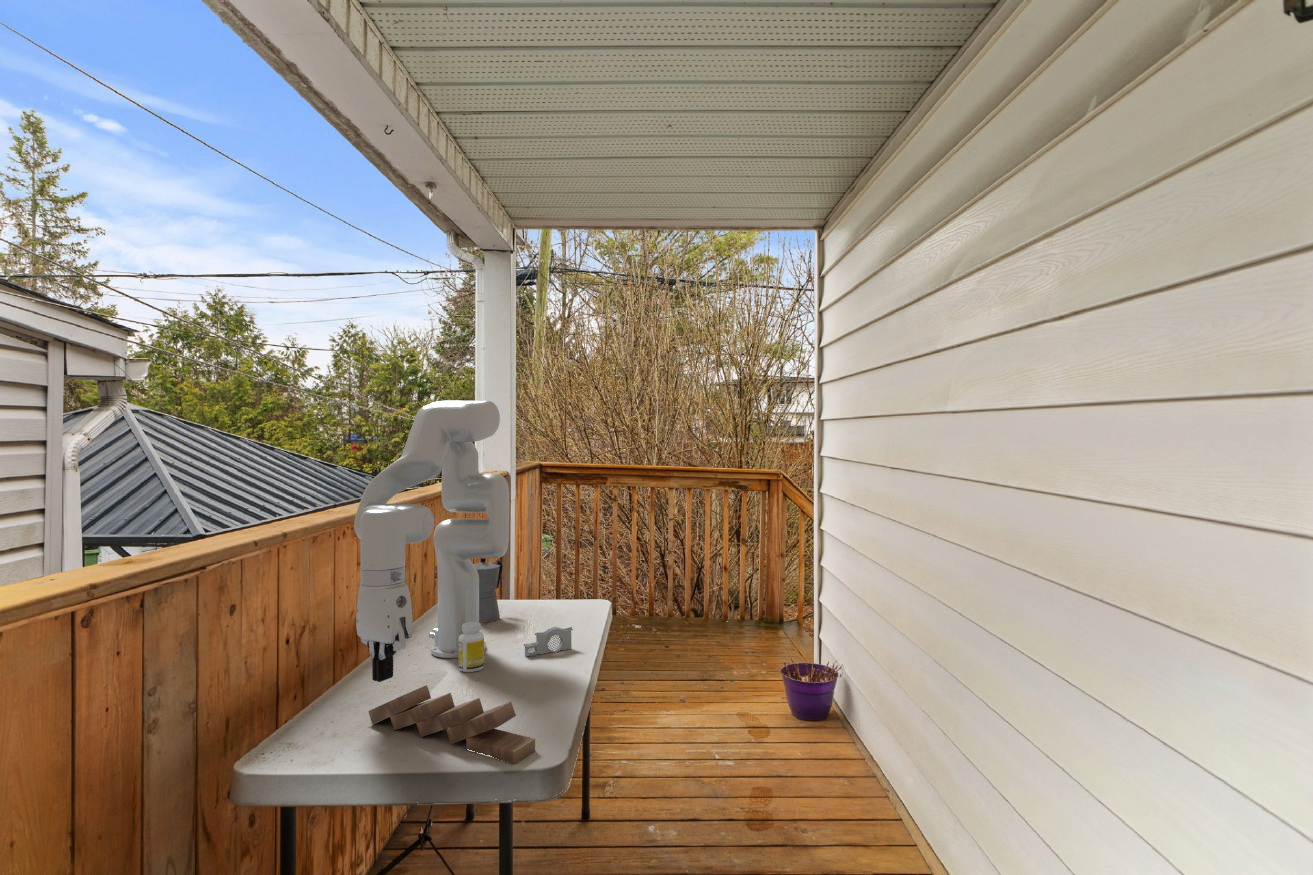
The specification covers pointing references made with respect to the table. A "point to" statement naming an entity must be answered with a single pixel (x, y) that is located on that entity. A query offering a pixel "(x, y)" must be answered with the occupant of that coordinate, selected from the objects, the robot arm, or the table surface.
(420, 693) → the domino
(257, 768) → the table surface
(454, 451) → the robot arm
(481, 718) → the domino
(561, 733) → the table surface
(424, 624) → the table surface
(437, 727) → the domino
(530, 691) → the table surface
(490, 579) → the coffeepot
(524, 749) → the domino
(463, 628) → the supplement bottle
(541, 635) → the garden wall model
